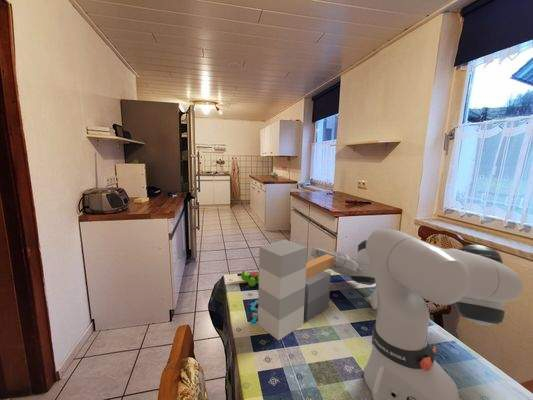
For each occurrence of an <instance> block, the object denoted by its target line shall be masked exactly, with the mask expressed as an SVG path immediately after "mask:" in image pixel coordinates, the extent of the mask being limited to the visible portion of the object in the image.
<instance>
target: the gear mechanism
mask: <svg viewBox="0 0 533 400" xmlns="http://www.w3.org/2000/svg"><path fill="white" fill-rule="evenodd" d="M258 301H259V299H256V300H255V301H254V302H253V304H251V306H250V311H251V312H252V315H251V318H252V319H251V321H250V323H251V324H253V325H255V324H256V322H258ZM256 307H257V308H256Z"/></svg>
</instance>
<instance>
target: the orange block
mask: <svg viewBox="0 0 533 400" xmlns="http://www.w3.org/2000/svg"><path fill="white" fill-rule="evenodd" d="M333 258H334V256H332V255H329V254H326V255H323V256H321V257H318V258H314V259H311V260H309V261H306V279H308V278H310V277H312V276H314V275H316V274H318V273H320V272H322V271H326V270H328V269H330V267H333V266H334V264H333V262H334V260H333Z"/></svg>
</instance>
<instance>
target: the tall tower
mask: <svg viewBox="0 0 533 400" xmlns="http://www.w3.org/2000/svg"><path fill="white" fill-rule="evenodd" d="M258 252H259V253H258V254H259V257H258V262H259V263H258V274H259V283H258V300H259V301H258V306H257V309H258V319H257V325H258V326H260V328H262V329H263V330H264V331H266V332H267V333H269V334H270V336H272V337H274V339H276V340H277V341H280V340H281V339H282V340H283V338H285V337H287V336H288V335H289V334H291V333H293V332H294V331H295V330H297V329H298V328H300V327H301V326H303V325H304V320H303V319H304V300H305V280H306V262H308V261H307V258H308V255H307V254H308V247H307V246H305V245H302V244H299V243H297V242H293V241H290V240H288V239H282V240H278V241H275V242H272V243H271V242H270V243H268V244H265V245H262V246H261V245H260V246H259V251H258Z"/></svg>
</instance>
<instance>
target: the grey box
mask: <svg viewBox="0 0 533 400" xmlns="http://www.w3.org/2000/svg"><path fill="white" fill-rule="evenodd" d="M331 276H332V275H331V273H330V272H327V271H326V270H324V271H322V272H320V273H318V274H316V275H314V276H312V277H310V278H308V279H306V280H305V300H304V319H303V321H305V322H306V323H307V322H309V321H311V320H312V319H313V318H315V317H317V316H318V315H320V314H321V313H323V312H325V310H327V309H329V305H330V303H329V302H330V290H331V288H330V287H331Z"/></svg>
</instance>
